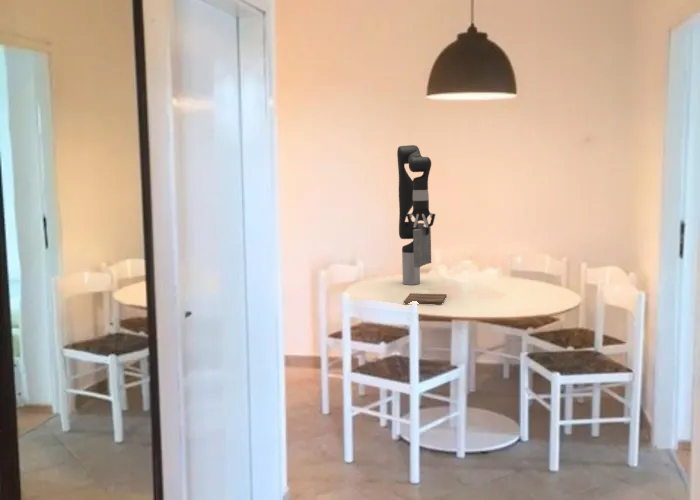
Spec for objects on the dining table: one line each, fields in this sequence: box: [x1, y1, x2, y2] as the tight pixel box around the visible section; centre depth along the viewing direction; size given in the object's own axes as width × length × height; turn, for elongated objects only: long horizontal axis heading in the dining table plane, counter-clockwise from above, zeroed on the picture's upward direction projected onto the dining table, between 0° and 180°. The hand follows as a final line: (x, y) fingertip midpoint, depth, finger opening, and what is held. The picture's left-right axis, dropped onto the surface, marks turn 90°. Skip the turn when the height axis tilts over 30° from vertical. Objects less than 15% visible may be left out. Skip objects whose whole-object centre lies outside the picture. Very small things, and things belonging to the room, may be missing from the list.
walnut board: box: [403, 293, 448, 305], centre depth 384 cm, size 18×18×2 cm
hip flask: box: [412, 222, 432, 268], centre depth 380 cm, size 16×4×20 cm, turn 151°
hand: (421, 235), depth 380 cm, fingers closed on hip flask, 4 cm apart
